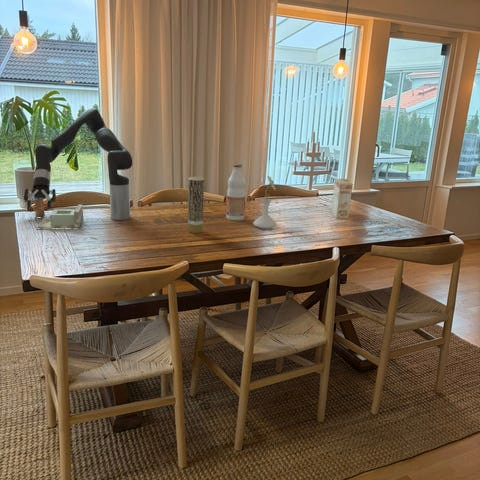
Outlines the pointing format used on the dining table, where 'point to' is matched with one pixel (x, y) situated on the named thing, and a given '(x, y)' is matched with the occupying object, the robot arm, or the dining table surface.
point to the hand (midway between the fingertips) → (38, 208)
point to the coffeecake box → (341, 198)
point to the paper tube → (195, 204)
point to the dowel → (39, 208)
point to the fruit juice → (236, 194)
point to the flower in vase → (266, 211)
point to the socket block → (62, 217)
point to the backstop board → (78, 222)
